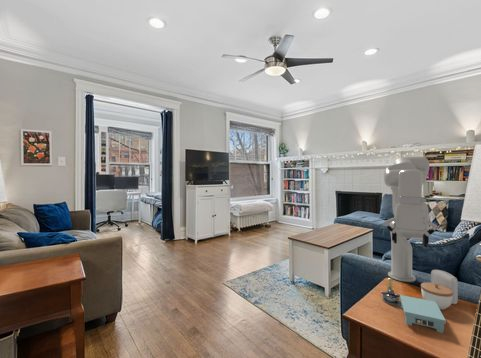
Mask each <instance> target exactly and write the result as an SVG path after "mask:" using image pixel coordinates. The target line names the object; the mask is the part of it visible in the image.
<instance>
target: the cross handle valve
mask: <svg viewBox="0 0 481 358" xmlns="http://www.w3.org/2000/svg"><path fill="white" fill-rule="evenodd" d="M386 280H387V281H386V282H387V283H386V284H387V285H386V287H387V289H386V291H380V294H382V297H383V299H384V300H386V301H388V302H391V303H398V302H399V301H400V295H401V294H397V293H396V292H395V290H394V289H393V278H391V277H387V279H386Z"/></svg>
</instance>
